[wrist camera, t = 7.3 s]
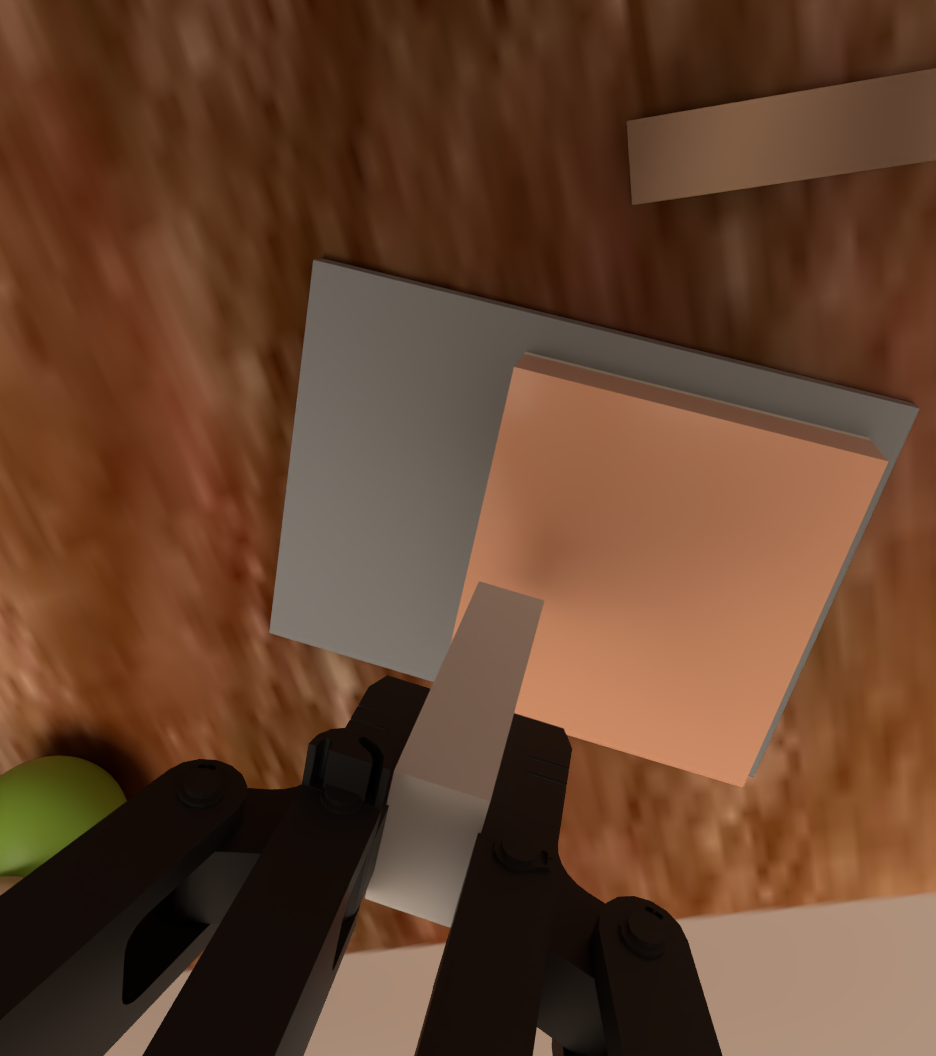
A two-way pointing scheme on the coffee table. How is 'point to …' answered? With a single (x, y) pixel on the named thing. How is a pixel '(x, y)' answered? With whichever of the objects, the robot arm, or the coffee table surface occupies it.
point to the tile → (664, 557)
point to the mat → (461, 451)
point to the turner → (784, 138)
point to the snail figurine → (49, 810)
